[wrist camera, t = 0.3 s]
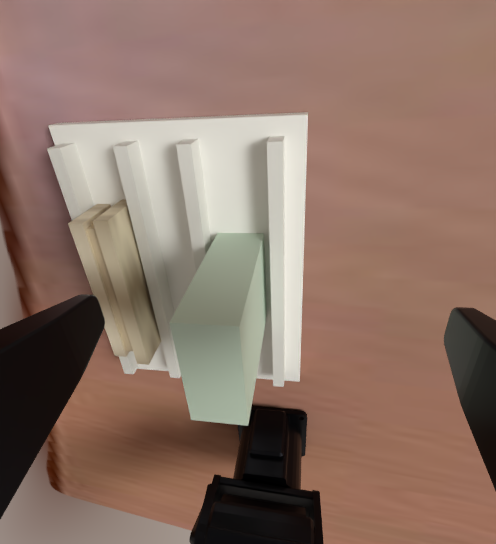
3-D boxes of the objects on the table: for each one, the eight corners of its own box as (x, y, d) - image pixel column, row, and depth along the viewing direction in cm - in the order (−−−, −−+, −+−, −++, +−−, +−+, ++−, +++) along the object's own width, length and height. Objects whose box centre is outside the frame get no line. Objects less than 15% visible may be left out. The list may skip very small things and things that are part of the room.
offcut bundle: (166, 332, 27) (148, 364, 24) (134, 330, 28) (113, 361, 25) (134, 199, 22) (107, 221, 19) (96, 199, 22) (63, 220, 19)
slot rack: (299, 372, 29) (299, 396, 27) (133, 359, 31) (120, 381, 29) (308, 112, 18) (307, 118, 16) (58, 122, 21) (30, 129, 19)
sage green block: (266, 315, 25) (248, 425, 17) (226, 312, 25) (191, 419, 18) (264, 233, 22) (239, 326, 14) (217, 232, 22) (169, 322, 14)
